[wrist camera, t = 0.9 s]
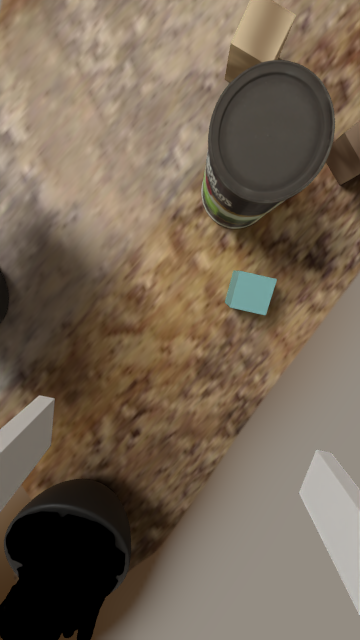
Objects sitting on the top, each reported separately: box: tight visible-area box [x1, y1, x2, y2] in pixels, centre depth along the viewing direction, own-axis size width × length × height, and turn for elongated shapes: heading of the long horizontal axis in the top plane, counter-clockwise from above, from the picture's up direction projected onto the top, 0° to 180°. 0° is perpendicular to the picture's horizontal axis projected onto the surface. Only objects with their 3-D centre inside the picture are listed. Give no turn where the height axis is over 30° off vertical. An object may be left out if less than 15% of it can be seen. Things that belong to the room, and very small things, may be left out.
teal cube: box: [225, 271, 277, 315], centre depth 33 cm, size 5×5×5 cm
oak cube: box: [225, 0, 296, 83], centre depth 27 cm, size 5×5×5 cm
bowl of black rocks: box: [0, 479, 131, 640], centre depth 37 cm, size 20×20×19 cm
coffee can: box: [202, 60, 335, 229], centre depth 26 cm, size 10×10×14 cm
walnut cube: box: [326, 121, 360, 185], centre depth 29 cm, size 5×5×5 cm
